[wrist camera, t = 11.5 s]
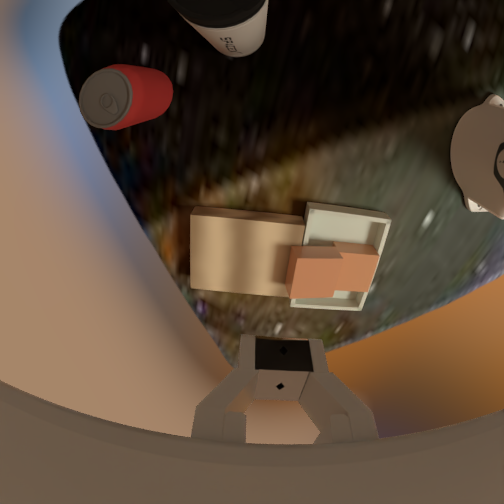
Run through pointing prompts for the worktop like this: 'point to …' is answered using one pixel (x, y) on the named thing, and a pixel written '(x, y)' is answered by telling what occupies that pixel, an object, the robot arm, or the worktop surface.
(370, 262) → the tile
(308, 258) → the tile
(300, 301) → the tray
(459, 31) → the worktop surface
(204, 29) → the travel mug
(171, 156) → the worktop surface
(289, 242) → the bench
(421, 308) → the worktop surface
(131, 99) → the beer can
